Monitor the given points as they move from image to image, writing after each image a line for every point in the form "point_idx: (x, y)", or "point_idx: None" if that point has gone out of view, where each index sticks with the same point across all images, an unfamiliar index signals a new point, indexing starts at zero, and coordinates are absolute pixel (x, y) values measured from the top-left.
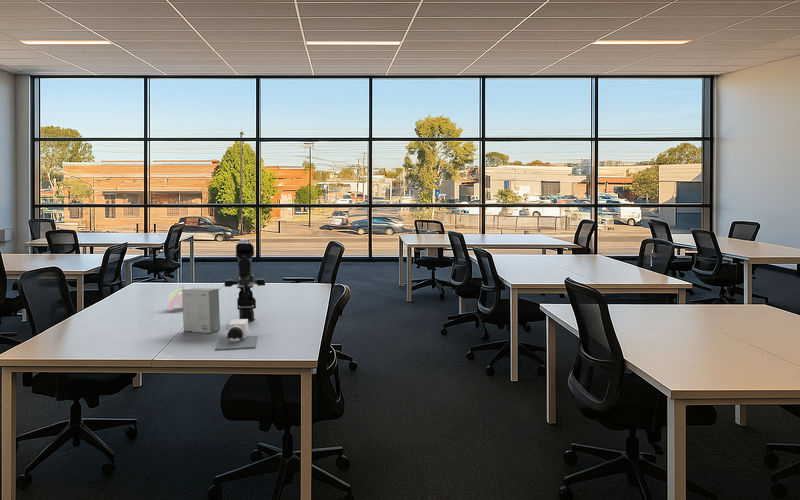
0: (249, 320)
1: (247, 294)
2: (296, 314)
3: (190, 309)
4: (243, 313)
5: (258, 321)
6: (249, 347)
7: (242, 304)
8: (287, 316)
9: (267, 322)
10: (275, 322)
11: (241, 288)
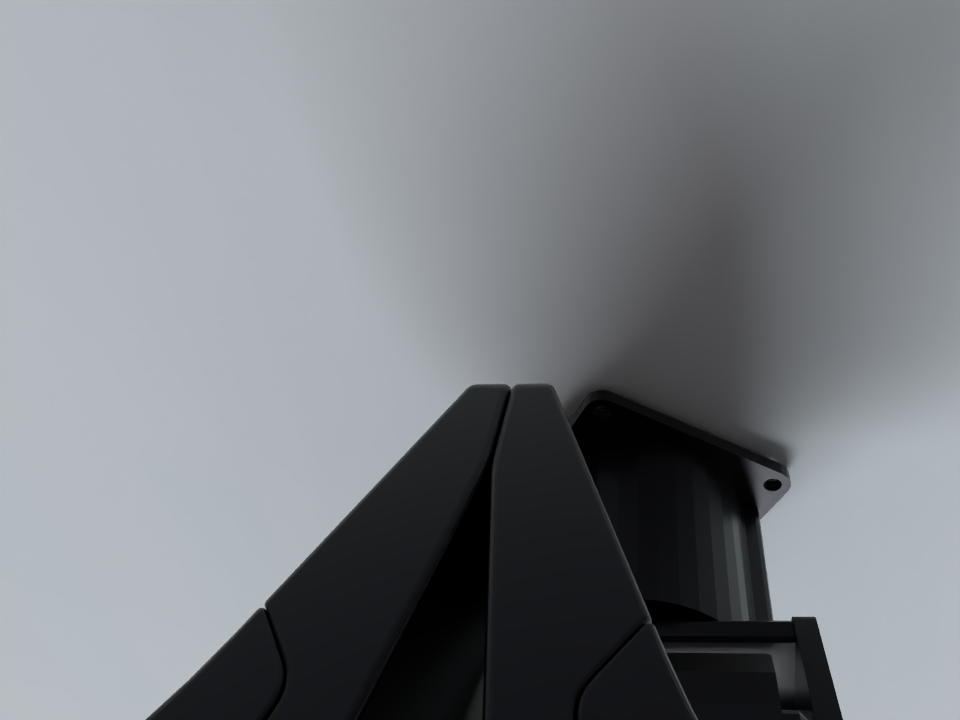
0: (579, 432)
1: (324, 573)
2: (48, 656)
3: None
4: (686, 541)
5: (430, 409)
6: None
7: (708, 669)
8: (111, 595)
9: (257, 319)
10: (121, 298)
11: None
